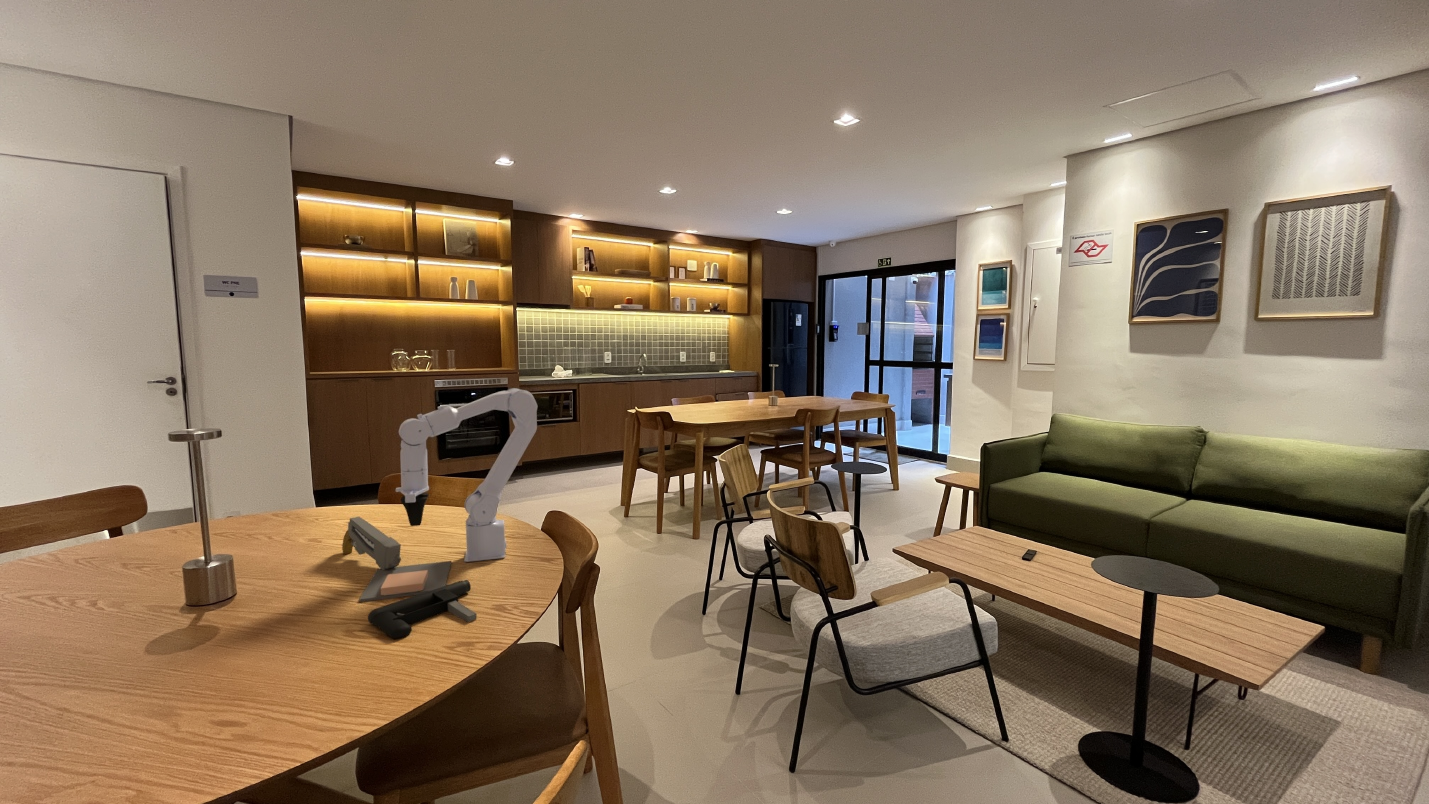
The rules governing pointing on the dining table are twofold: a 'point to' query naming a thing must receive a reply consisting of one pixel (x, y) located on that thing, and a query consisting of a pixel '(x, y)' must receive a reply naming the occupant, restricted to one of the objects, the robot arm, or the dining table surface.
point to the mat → (435, 572)
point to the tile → (404, 582)
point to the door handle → (421, 609)
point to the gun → (371, 543)
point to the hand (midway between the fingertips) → (415, 525)
